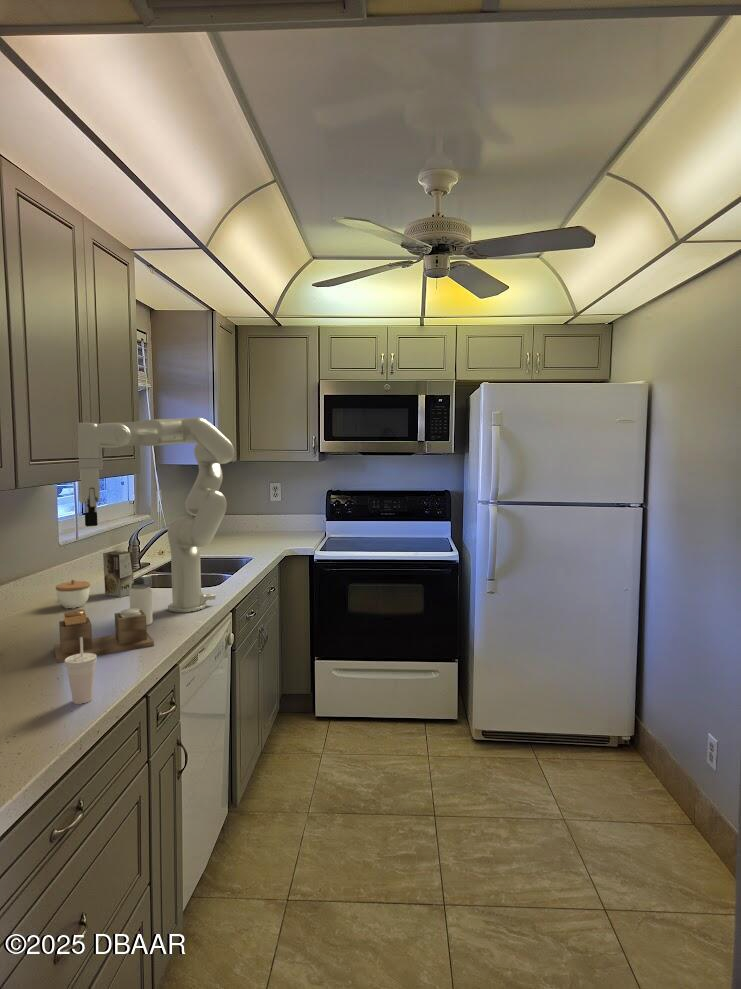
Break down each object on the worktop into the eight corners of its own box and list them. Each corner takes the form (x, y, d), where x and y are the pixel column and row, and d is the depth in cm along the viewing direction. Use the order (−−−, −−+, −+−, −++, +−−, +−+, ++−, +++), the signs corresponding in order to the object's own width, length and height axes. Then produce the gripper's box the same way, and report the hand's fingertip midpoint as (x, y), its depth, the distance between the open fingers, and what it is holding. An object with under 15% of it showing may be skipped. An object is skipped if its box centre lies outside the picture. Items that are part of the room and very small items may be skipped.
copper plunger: (85, 635, 162) (83, 608, 162) (87, 640, 158) (85, 612, 157) (64, 638, 160) (63, 611, 159) (66, 643, 155) (65, 615, 155)
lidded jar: (95, 606, 205) (93, 580, 204) (61, 612, 198) (60, 585, 197) (85, 600, 213) (84, 575, 212) (53, 606, 206) (51, 579, 205)
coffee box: (135, 593, 223) (133, 551, 221) (120, 597, 217) (119, 554, 216) (118, 591, 227) (116, 549, 225) (104, 594, 221) (102, 552, 220)
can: (145, 619, 189) (144, 583, 188) (156, 623, 185) (155, 586, 184) (126, 624, 184) (125, 586, 183) (137, 628, 180) (135, 590, 179)
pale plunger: (138, 633, 170) (137, 607, 169) (142, 637, 166) (141, 611, 165) (120, 636, 167) (119, 610, 167) (123, 641, 163) (122, 614, 162)
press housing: (145, 633, 174) (144, 606, 174) (154, 645, 164) (153, 616, 163) (54, 648, 162) (52, 619, 161) (57, 662, 151) (55, 631, 151)
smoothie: (104, 694, 131) (101, 633, 130) (88, 707, 125) (85, 643, 124) (76, 694, 132) (73, 633, 131) (59, 706, 126) (56, 643, 124)
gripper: (72, 464, 178) (74, 524, 180) (77, 465, 166) (80, 529, 167) (99, 463, 182) (101, 522, 184) (106, 464, 170) (108, 527, 171)
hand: (91, 525), depth 175 cm, fingers closed
